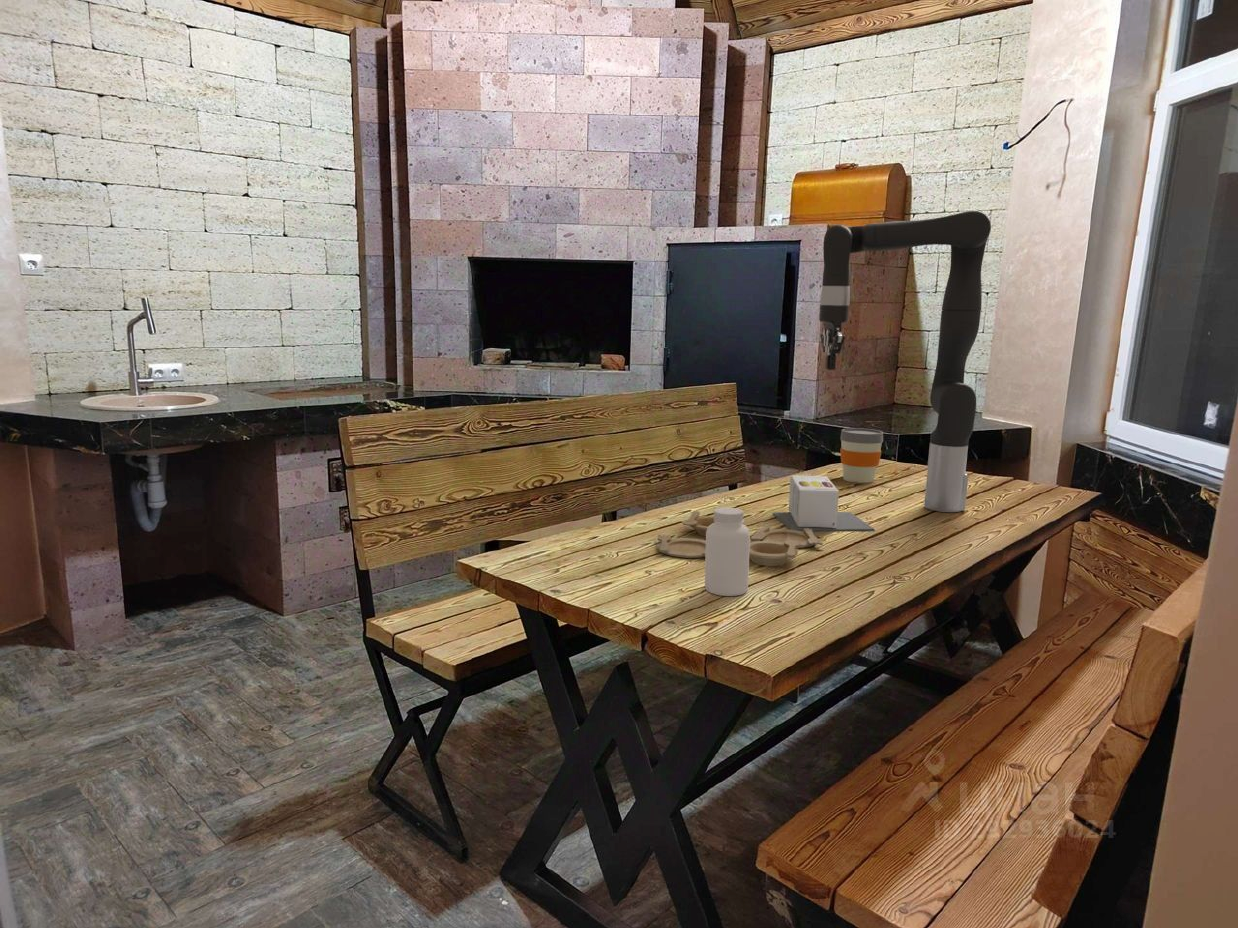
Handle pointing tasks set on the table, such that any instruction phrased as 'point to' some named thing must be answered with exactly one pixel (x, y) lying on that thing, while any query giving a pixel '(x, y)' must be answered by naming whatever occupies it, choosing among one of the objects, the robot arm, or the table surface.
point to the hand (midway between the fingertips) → (830, 369)
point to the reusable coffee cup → (860, 453)
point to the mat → (844, 523)
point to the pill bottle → (727, 553)
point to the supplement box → (813, 501)
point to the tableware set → (764, 549)
